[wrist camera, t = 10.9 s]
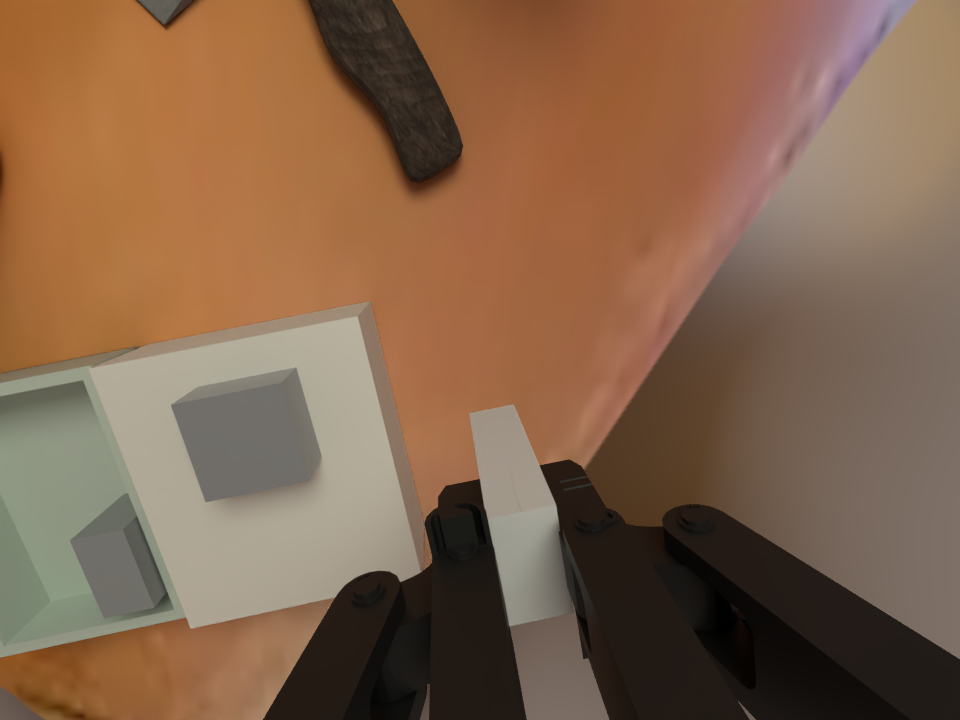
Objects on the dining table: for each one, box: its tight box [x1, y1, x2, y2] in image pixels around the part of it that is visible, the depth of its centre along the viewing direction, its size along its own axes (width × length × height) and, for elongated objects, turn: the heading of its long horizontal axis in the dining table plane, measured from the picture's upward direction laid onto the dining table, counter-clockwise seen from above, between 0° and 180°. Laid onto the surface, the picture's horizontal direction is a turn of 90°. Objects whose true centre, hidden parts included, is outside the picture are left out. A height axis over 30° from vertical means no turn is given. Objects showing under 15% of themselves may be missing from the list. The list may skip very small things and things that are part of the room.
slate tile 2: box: [171, 367, 322, 502], centre depth 23 cm, size 4×4×2 cm
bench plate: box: [89, 301, 424, 629], centre depth 27 cm, size 12×14×5 cm
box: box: [0, 346, 186, 657], centre depth 27 cm, size 10×14×4 cm
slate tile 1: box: [70, 493, 167, 619], centre depth 28 cm, size 4×4×2 cm
